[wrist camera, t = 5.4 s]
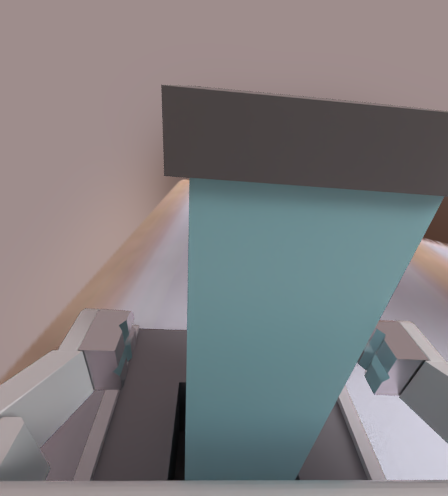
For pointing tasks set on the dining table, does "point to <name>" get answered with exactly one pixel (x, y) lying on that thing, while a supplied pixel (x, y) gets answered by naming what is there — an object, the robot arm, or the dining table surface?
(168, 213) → the dining table surface
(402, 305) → the dining table surface
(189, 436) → the plug
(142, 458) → the grey socket base
